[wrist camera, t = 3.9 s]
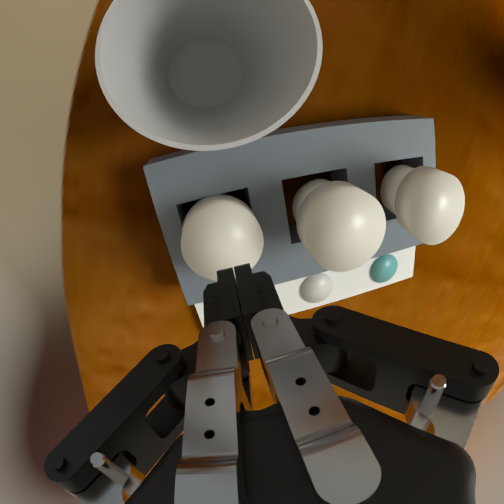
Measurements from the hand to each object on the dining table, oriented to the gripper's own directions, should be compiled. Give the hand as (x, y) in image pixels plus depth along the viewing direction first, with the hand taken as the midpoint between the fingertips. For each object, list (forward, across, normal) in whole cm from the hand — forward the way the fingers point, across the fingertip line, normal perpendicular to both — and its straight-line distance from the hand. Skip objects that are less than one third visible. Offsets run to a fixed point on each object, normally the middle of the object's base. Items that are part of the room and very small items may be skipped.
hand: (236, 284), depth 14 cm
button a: (+6, -13, 0) cm, 14 cm away
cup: (+9, -1, -10) cm, 14 cm away
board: (+9, -6, 0) cm, 11 cm away
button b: (+6, -6, 0) cm, 9 cm away
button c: (+8, 0, 0) cm, 8 cm away
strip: (+9, -6, +8) cm, 13 cm away
